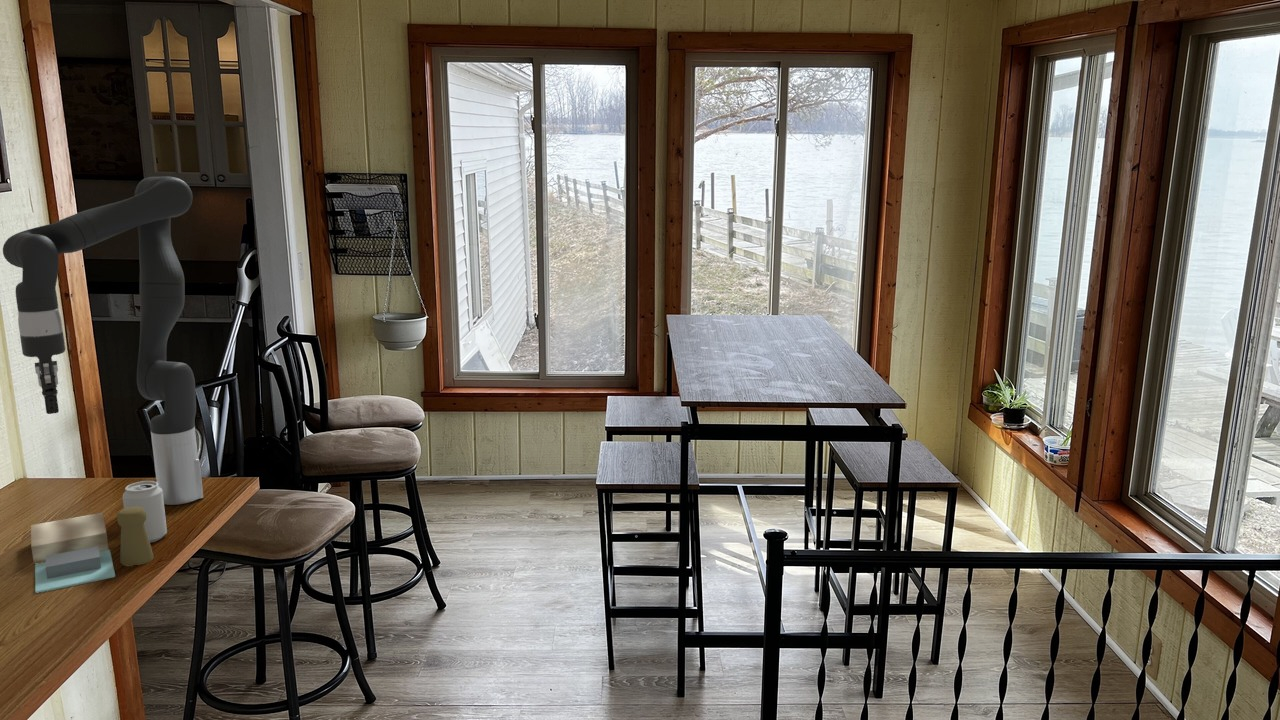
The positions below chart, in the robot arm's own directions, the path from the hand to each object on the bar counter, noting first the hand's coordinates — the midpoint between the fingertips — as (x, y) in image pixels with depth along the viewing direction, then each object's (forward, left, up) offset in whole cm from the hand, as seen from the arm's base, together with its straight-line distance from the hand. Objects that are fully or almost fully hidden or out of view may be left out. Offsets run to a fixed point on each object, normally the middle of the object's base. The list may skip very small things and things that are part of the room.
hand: (52, 412), depth 195 cm
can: (-14, +12, -27) cm, 33 cm away
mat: (0, +23, -27) cm, 35 cm away
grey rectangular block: (0, +22, -25) cm, 33 cm away
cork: (-11, +23, -27) cm, 37 cm away
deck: (0, +9, -27) cm, 28 cm away
